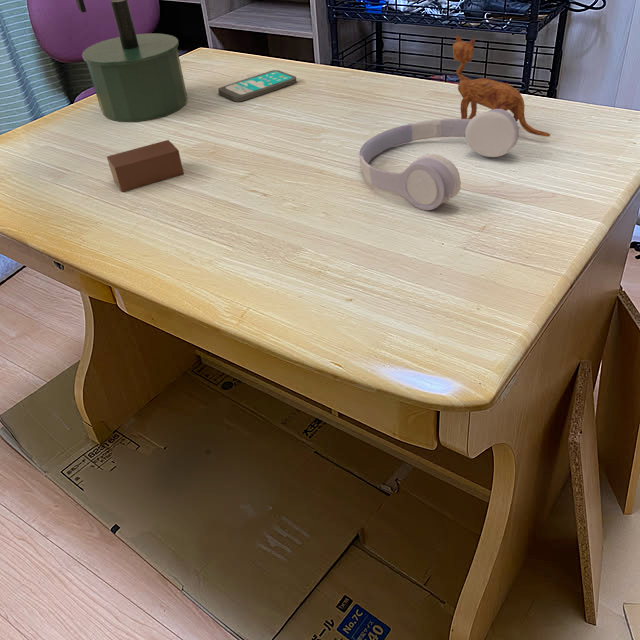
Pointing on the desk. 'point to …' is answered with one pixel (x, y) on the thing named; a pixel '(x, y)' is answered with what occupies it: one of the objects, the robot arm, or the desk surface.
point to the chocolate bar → (145, 165)
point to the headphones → (434, 170)
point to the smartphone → (257, 85)
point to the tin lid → (128, 42)
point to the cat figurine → (487, 90)
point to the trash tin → (140, 88)
